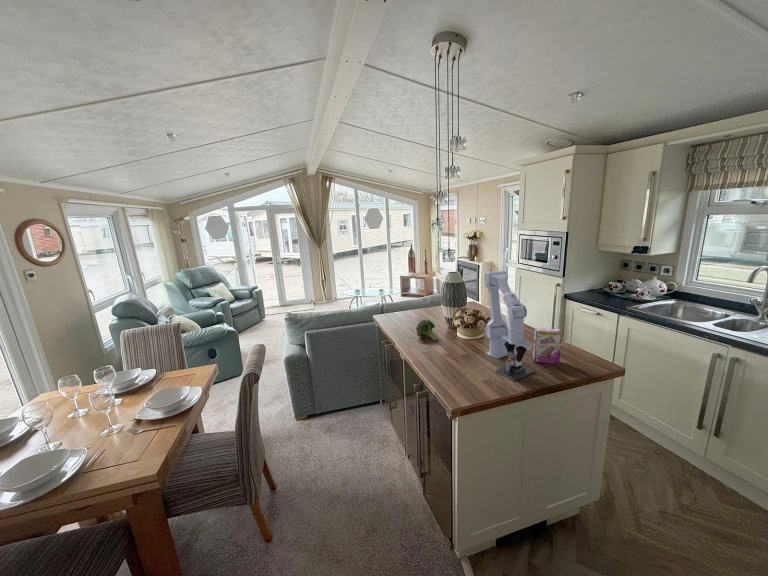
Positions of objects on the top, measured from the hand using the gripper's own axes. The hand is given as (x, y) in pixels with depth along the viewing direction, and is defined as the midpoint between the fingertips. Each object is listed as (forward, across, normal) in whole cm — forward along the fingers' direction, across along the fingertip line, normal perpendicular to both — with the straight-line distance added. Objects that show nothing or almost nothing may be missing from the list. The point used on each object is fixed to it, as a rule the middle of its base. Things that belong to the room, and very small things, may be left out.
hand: (515, 359), depth 143 cm
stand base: (+6, 0, 0) cm, 6 cm away
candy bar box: (+7, +1, +21) cm, 22 cm away
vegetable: (+7, -58, -7) cm, 59 cm away
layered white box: (+2, 0, 0) cm, 2 cm away
